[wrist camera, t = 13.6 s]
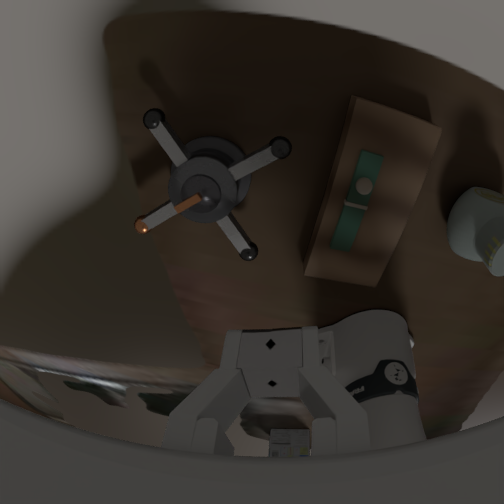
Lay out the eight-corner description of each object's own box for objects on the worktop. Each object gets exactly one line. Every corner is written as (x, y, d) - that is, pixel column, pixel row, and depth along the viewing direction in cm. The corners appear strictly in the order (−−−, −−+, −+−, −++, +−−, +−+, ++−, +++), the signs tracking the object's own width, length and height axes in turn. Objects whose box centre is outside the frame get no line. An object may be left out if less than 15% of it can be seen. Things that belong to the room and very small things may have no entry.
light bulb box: (269, 435, 78) (267, 469, 69) (270, 427, 74) (268, 463, 65) (306, 436, 77) (306, 470, 68) (310, 428, 73) (310, 464, 64)
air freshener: (432, 235, 37) (462, 284, 28) (449, 178, 32) (490, 220, 24) (488, 241, 36) (521, 286, 28) (507, 191, 31) (548, 231, 23)
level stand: (371, 275, 41) (378, 296, 38) (302, 263, 41) (304, 284, 37) (432, 123, 28) (450, 133, 25) (351, 94, 28) (361, 100, 24)
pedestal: (244, 214, 37) (243, 218, 37) (171, 202, 37) (169, 206, 36) (257, 143, 32) (256, 145, 31) (175, 131, 32) (173, 133, 31)
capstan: (238, 53, 25) (231, 52, 22) (330, 211, 35) (336, 233, 31) (97, 154, 32) (76, 170, 29) (191, 273, 42) (183, 297, 38)
